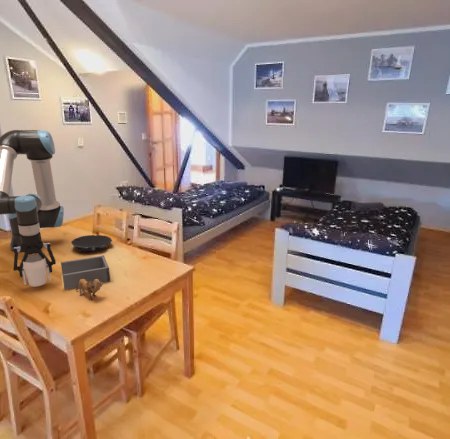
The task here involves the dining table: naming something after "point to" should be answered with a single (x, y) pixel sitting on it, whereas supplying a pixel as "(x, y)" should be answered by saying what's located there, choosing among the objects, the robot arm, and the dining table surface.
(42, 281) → the cup
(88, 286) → the lion figurine
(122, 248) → the dining table surface
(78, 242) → the board
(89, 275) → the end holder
